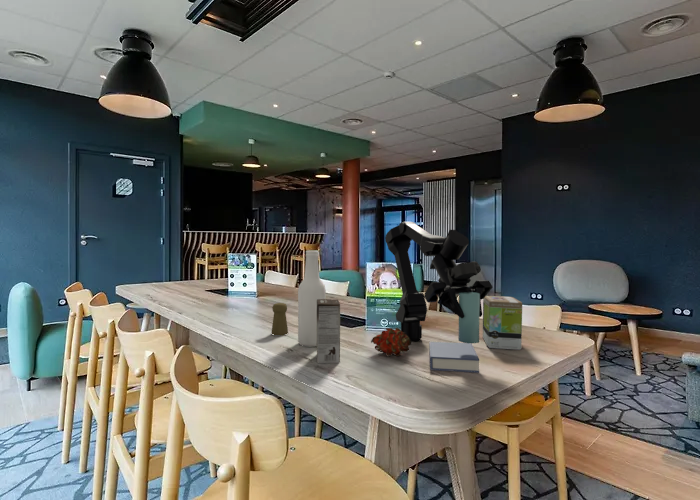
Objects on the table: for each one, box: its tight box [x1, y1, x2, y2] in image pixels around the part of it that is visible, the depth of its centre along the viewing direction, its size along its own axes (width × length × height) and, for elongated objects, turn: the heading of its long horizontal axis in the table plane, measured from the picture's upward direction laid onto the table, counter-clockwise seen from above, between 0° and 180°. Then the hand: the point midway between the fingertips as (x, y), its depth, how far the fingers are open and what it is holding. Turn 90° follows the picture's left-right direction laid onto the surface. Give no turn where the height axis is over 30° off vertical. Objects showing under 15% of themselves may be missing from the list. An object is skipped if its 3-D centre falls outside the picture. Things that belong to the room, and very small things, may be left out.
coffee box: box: [316, 298, 341, 364], centre depth 111 cm, size 9×6×16 cm
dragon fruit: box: [370, 327, 412, 357], centre depth 115 cm, size 8×8×12 cm
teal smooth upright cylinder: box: [458, 292, 480, 344], centre depth 104 cm, size 5×5×12 cm
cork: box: [271, 302, 289, 335], centre depth 141 cm, size 6×6×11 cm
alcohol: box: [297, 249, 327, 347], centre depth 127 cm, size 9×9×30 cm
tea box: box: [482, 295, 523, 350], centre depth 128 cm, size 15×10×15 cm
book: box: [428, 341, 480, 374], centre depth 108 cm, size 12×16×3 cm
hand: (472, 316), depth 103 cm, fingers closed on teal smooth upright cylinder, 5 cm apart
